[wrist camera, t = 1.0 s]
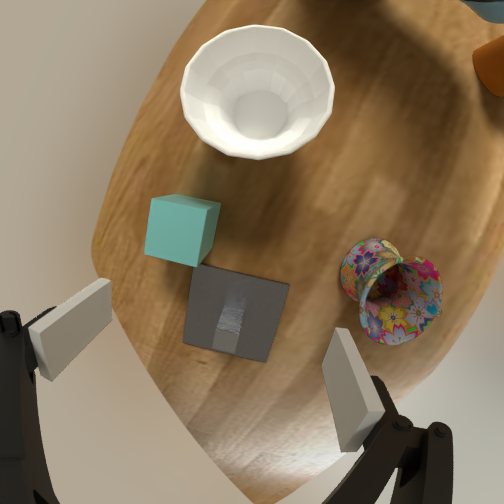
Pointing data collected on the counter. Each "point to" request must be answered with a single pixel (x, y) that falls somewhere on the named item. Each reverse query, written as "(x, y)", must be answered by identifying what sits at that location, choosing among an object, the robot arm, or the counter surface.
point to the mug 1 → (391, 291)
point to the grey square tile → (233, 312)
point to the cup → (257, 92)
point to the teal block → (181, 228)
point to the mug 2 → (491, 65)
